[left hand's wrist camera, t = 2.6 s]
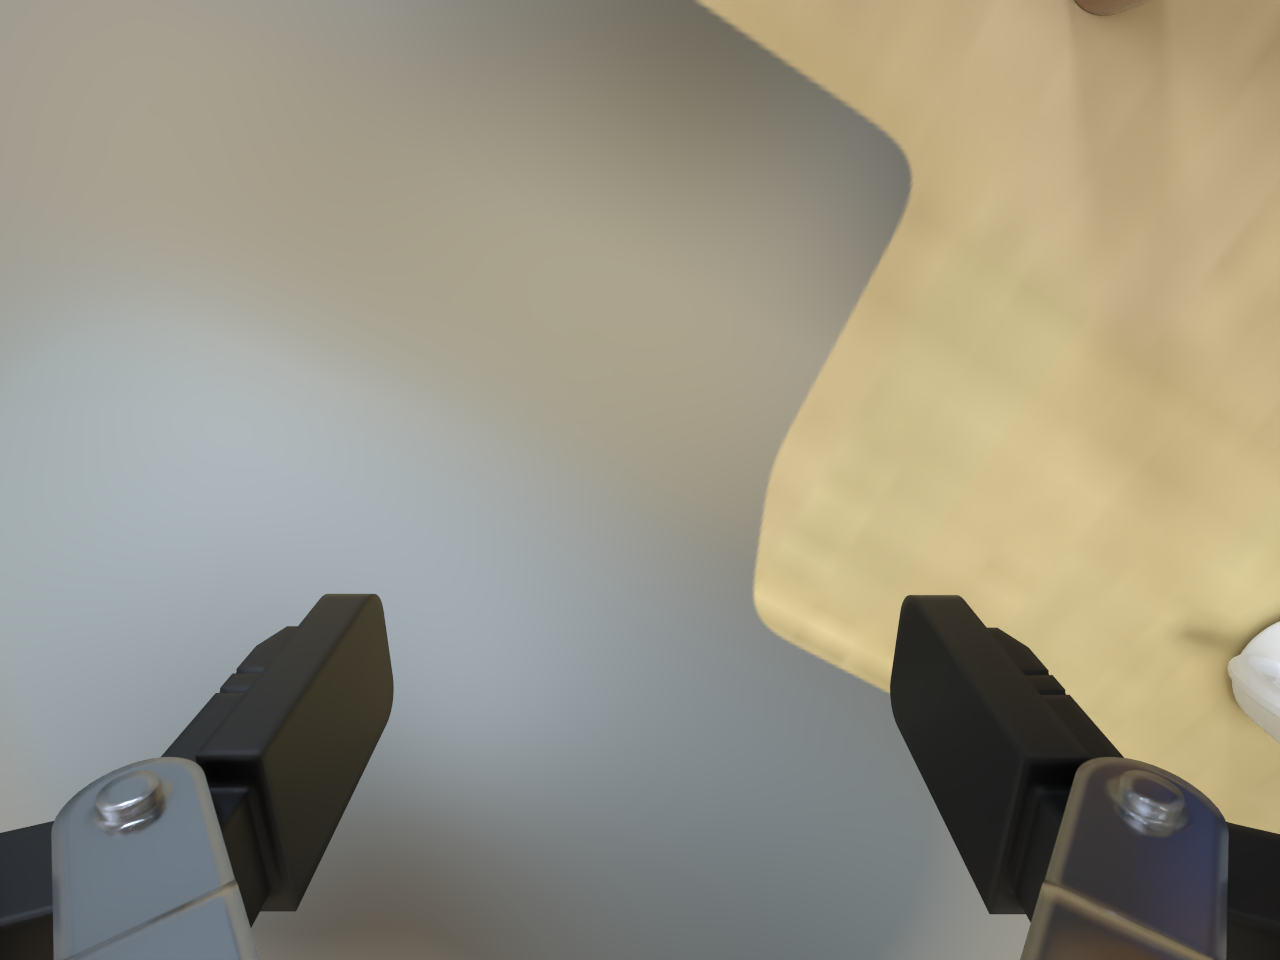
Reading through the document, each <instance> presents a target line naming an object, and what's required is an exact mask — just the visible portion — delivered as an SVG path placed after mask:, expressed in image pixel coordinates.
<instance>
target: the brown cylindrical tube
mask: <svg viewBox="0 0 1280 960" xmlns="http://www.w3.org/2000/svg"><path fill="white" fill-rule="evenodd" d="M1075 1H1076V2H1077V3H1078V4H1079V5H1080V6H1081V7H1082V8H1083V9H1085V10H1086V11H1088V12H1090V13H1093V14H1096V15H1113V14H1117V13H1120V12H1122V11H1125V10H1128V9H1130V8H1133V7H1135V6H1138V5H1140V4H1143V3H1145V2H1148V1H1151V0H1075Z"/></svg>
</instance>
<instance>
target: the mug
mask: <svg viewBox="0 0 1280 960" xmlns="http://www.w3.org/2000/svg"><path fill="white" fill-rule="evenodd" d="M1227 670H1228V674H1229V676H1230V678H1231V679H1232V689H1233V693H1234V696H1235V699H1236V701H1237V703H1238V704H1239V706H1240V707H1241V709H1242V710H1243V711H1244V712H1245V713H1246V714H1247V715H1248V716H1249V717H1250V718H1251V719H1252V720H1253V721H1254V722H1255V723H1256V724H1257V725H1258V726H1259V727H1261V728H1262V729H1263V730H1264V731H1265V732H1267V733H1268V734H1269V735H1270V736H1271V737H1272V738H1274V739H1275V740H1276V741H1277V742H1278V743H1279V744H1280V621H1279V622H1277V623H1275V624H1273V625H1271V626H1269V627H1268V628H1266V629H1265V630H1263V631H1262V632H1260V633H1259V634H1258V635H1257V636H1256V637H1254V638H1253V639H1252V640H1251V641H1250V642H1249V643H1248V645H1247V646H1246V647H1245V648H1244V649H1243V651H1242V653H1241V654H1240V655H1238V656H1235V657H1234V658H1232V659H1231V660H1230V661H1229V663H1228V667H1227Z"/></svg>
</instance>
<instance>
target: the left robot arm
mask: <svg viewBox="0 0 1280 960" xmlns="http://www.w3.org/2000/svg"><path fill="white" fill-rule="evenodd" d="M890 696H891V705H892V710H893V715H894V718H895V721H896V724H897V726H898V728H899V730H900V732H901V734H902V736H903V738H904V740H905V742H906V744H907V746H908V748H909V750H910V752H911V755H912V757H913V759H914V761H915V763H916V765H917V767H918V769H919V771H920V773H921V775H922V777H923V779H924V781H925V783H926V785H927V787H928V789H929V791H930V793H931V795H932V797H933V799H934V801H935V804H936V805H937V808H938V810H939V812H940V814H941V816H942V818H943V820H944V822H945V824H946V826H947V828H948V830H949V832H950V834H951V836H952V838H953V840H954V842H955V844H956V846H957V848H958V850H959V852H960V855H961V857H962V859H963V861H964V863H965V865H966V867H967V869H968V871H969V873H970V875H971V877H972V879H973V881H974V883H975V885H976V887H977V889H978V891H979V893H980V895H981V897H982V899H983V901H984V904H985V906H986V908H987V910H988V912H989V914H1026V915H1027V917H1028V919H1029V920H1030V922H1031V925H1030V928H1029V931H1028V935H1027V938H1026V942H1025V945H1024V949H1023V952H1022V956H1021V959H1020V960H1280V834H1276V833H1272V832H1267V831H1263V830H1258V829H1254V828H1250V827H1245V826H1241V825H1236V824H1232V823H1229V822H1226V821H1225V819H1224V817H1223V815H1222V814H1221V812H1220V811H1219V809H1218V808H1217V807H1216V806H1215V805H1214V803H1213V802H1212V801H1211V800H1210V799H1209V798H1208V797H1206V796H1205V795H1204V794H1203V793H1202V792H1201V791H1199V790H1198V789H1197V788H1195V787H1194V786H1193V785H1191V784H1190V783H1188V782H1186V781H1185V780H1183V779H1181V778H1180V777H1178V776H1176V775H1174V774H1172V773H1170V772H1168V771H1166V770H1163V769H1161V768H1159V767H1156V766H1154V765H1150V764H1147V763H1144V762H1141V761H1137V760H1132V759H1127V758H1124V757H1123V756H1122V755H1121V754H1120V752H1119V751H1118V750H1117V749H1116V748H1115V747H1114V746H1113V744H1112V743H1111V742H1110V741H1109V740H1108V739H1107V737H1106V736H1105V735H1104V734H1103V733H1102V732H1101V731H1100V729H1099V728H1098V727H1097V726H1096V725H1095V724H1094V722H1093V721H1092V720H1091V719H1090V718H1089V717H1088V716H1087V714H1086V713H1085V712H1084V711H1083V710H1082V709H1081V708H1080V706H1079V705H1078V704H1077V703H1076V702H1075V701H1074V699H1073V698H1072V697H1071V696H1070V695H1066V694H1065V689H1064V688H1063V687H1062V686H1061V684H1060V683H1059V682H1058V681H1057V680H1056V679H1055V678H1054V676H1053V675H1049V674H1048V670H1047V668H1046V667H1045V666H1044V665H1043V664H1042V663H1041V661H1040V660H1039V659H1038V658H1037V657H1036V656H1035V655H1034V653H1033V652H1032V651H1031V650H1030V649H1029V648H1028V647H1027V646H1025V645H1024V644H1022V643H1020V642H1019V641H1017V640H1016V639H1014V638H1013V637H1011V636H1009V635H1008V634H1006V633H1005V632H1003V631H1002V630H1000V629H998V628H986V626H985V625H984V624H983V623H982V621H981V620H980V619H979V618H978V616H977V615H976V614H975V613H974V612H973V610H972V609H971V608H970V607H969V605H968V604H967V603H966V602H965V600H964V599H963V598H962V597H960V596H958V595H909V596H907V597H906V598H905V599H904V601H903V603H902V607H901V612H900V619H899V626H898V633H897V640H896V647H895V654H894V661H893V668H892V675H891V683H890ZM392 702H393V675H392V668H391V661H390V654H389V647H388V640H387V633H386V625H385V619H384V611H383V606H382V602H381V600H380V598H379V597H378V596H377V595H376V594H326V595H324V596H322V597H321V598H320V600H319V601H318V602H317V603H316V605H315V606H314V607H313V608H312V610H311V611H310V612H309V613H308V615H307V616H306V617H305V618H304V620H303V621H302V622H301V623H300V625H299V626H288V627H286V628H284V629H282V630H281V631H279V632H278V633H276V634H275V635H273V636H271V637H270V638H268V639H267V640H265V641H264V642H262V643H260V644H259V645H257V646H256V647H255V648H254V649H253V651H252V652H251V653H250V654H249V655H248V656H247V658H246V659H245V660H244V661H243V662H242V663H241V665H240V666H239V667H238V668H237V672H236V674H232V675H231V676H230V677H229V678H228V680H227V681H226V682H225V683H224V684H223V685H222V687H221V688H220V693H216V694H215V695H214V696H213V697H212V698H211V699H210V701H209V702H208V703H207V704H206V705H205V706H204V708H203V709H202V710H201V711H200V712H199V713H198V714H197V716H196V717H195V718H194V719H193V720H192V722H191V723H190V724H189V725H188V726H187V727H186V728H185V730H184V731H183V732H182V733H181V734H180V735H179V737H178V738H177V739H176V740H175V741H174V742H173V744H172V745H171V746H170V747H169V748H168V749H167V750H166V752H165V753H164V754H163V755H162V756H161V757H160V758H153V759H148V760H144V761H139V762H136V763H133V764H130V765H127V766H124V767H122V768H119V769H117V770H114V771H112V772H110V773H108V774H106V775H104V776H102V777H100V778H99V779H97V780H95V781H94V782H92V783H90V784H89V785H88V786H86V787H85V788H83V789H82V790H81V791H79V792H78V793H77V794H76V795H75V796H74V797H72V798H71V799H70V800H69V801H68V802H67V803H66V805H65V806H64V807H63V808H62V809H61V811H60V812H59V814H58V815H57V817H56V819H55V821H52V822H47V823H43V824H39V825H34V826H30V827H25V828H21V829H16V830H12V831H8V832H3V833H0V960H260V959H259V956H258V952H257V949H256V945H255V942H254V938H253V935H252V931H251V927H252V925H253V923H254V921H255V919H256V918H257V916H258V914H259V912H260V911H296V910H297V908H298V906H299V904H300V902H301V900H302V898H303V896H304V894H305V892H306V889H307V887H308V885H309V883H310V881H311V879H312V877H313V875H314V873H315V871H316V869H317V867H318V865H319V863H320V861H321V858H322V856H323V854H324V852H325V850H326V848H327V846H328V844H329V842H330V840H331V838H332V836H333V834H334V831H335V829H336V827H337V825H338V823H339V821H340V819H341V817H342V815H343V813H344V811H345V809H346V807H347V805H348V803H349V800H350V799H351V796H352V794H353V792H354V790H355V788H356V786H357V784H358V782H359V780H360V778H361V776H362V774H363V772H364V770H365V767H366V765H367V763H368V761H369V759H370V757H371V755H372V753H373V751H374V749H375V747H376V745H377V743H378V741H379V739H380V737H381V734H382V732H383V730H384V728H385V726H386V724H387V722H388V719H389V716H390V712H391V708H392Z"/></svg>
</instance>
